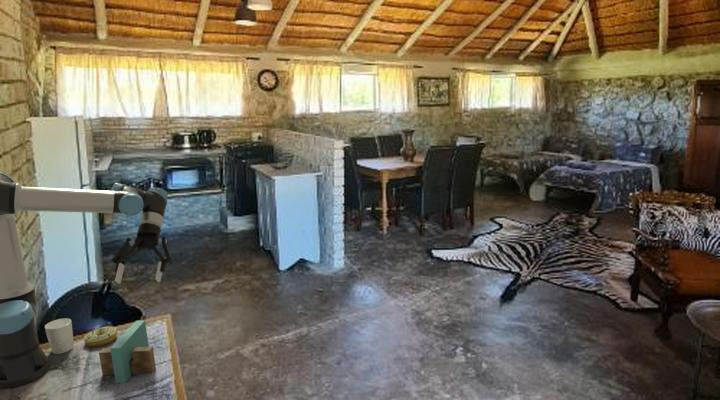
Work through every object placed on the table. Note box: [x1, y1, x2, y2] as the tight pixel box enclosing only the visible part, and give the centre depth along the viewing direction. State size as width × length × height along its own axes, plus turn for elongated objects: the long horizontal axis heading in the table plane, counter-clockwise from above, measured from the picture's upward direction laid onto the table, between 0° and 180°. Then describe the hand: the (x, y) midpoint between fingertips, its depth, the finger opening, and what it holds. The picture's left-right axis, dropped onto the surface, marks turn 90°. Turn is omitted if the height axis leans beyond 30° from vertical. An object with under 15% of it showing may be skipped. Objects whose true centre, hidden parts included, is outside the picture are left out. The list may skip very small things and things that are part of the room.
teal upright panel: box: [110, 319, 150, 384], centre depth 152 cm, size 18×3×12 cm, turn 2°
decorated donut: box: [83, 325, 118, 348], centre depth 170 cm, size 10×11×4 cm
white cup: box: [44, 317, 74, 355], centre depth 164 cm, size 8×8×10 cm
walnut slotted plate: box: [98, 346, 157, 376], centre depth 149 cm, size 16×2×8 cm, turn 92°
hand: (137, 281), depth 158 cm, fingers open, 13 cm apart
